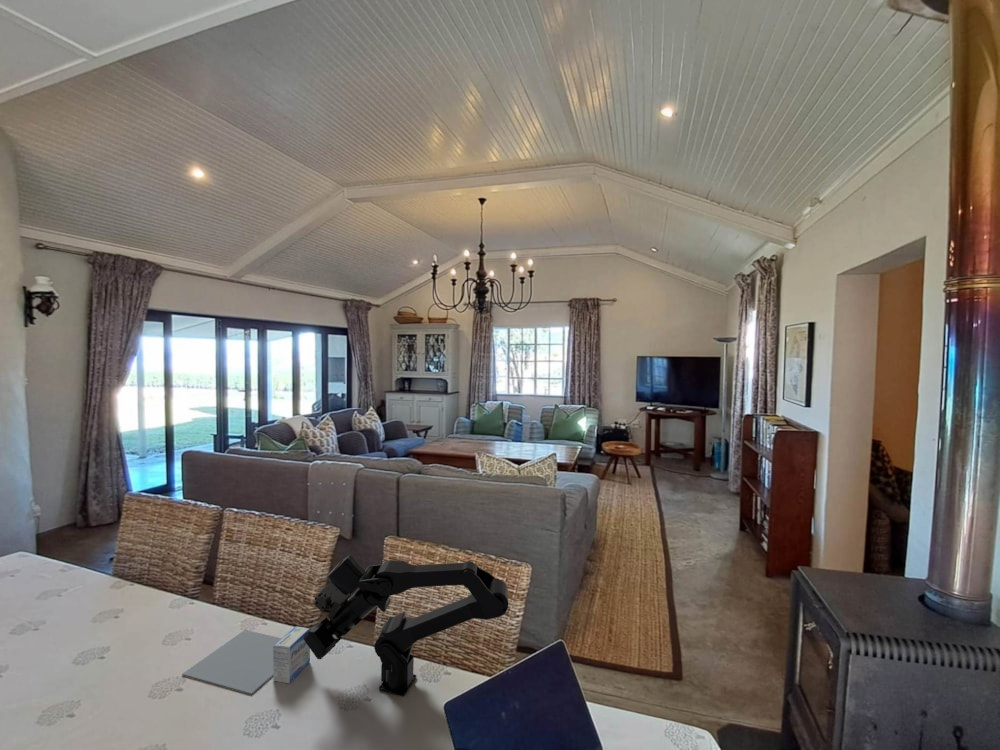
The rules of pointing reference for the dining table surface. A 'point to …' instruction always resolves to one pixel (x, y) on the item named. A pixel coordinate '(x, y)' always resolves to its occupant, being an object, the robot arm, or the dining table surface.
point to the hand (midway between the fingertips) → (318, 641)
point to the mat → (238, 663)
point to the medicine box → (290, 655)
